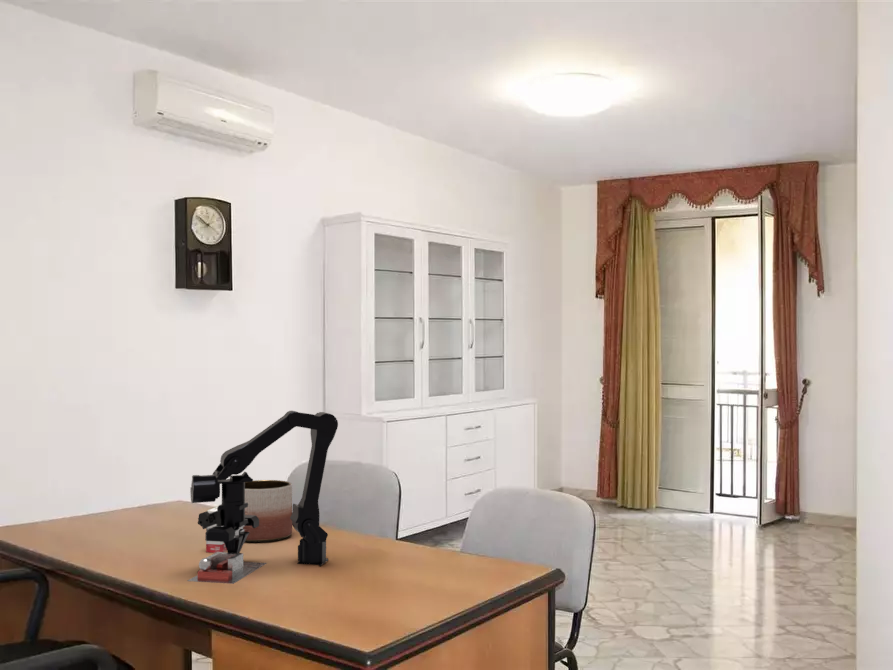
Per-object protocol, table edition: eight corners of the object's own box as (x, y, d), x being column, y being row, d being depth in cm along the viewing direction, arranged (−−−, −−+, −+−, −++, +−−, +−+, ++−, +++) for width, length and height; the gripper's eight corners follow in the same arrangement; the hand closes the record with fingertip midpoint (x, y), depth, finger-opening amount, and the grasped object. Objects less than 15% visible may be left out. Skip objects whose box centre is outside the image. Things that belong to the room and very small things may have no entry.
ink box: (221, 555, 232) (221, 511, 232) (205, 554, 233) (205, 511, 233) (235, 547, 240) (236, 506, 240) (219, 547, 241) (220, 505, 241)
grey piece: (267, 564, 221) (267, 543, 221) (233, 585, 201) (233, 562, 201) (224, 562, 223) (224, 541, 223) (186, 582, 204) (186, 559, 204)
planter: (280, 544, 244) (280, 489, 244) (221, 542, 247) (221, 488, 247) (300, 531, 262) (300, 480, 262) (245, 529, 264) (245, 479, 265)
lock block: (243, 571, 212) (243, 553, 213) (232, 577, 207) (232, 559, 207) (217, 569, 214) (217, 551, 214) (205, 576, 208) (206, 557, 208)
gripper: (220, 492, 226) (220, 551, 226) (185, 505, 207) (185, 569, 207) (260, 494, 223) (260, 553, 223) (227, 507, 205) (227, 572, 205)
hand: (233, 561), depth 215 cm, fingers closed
